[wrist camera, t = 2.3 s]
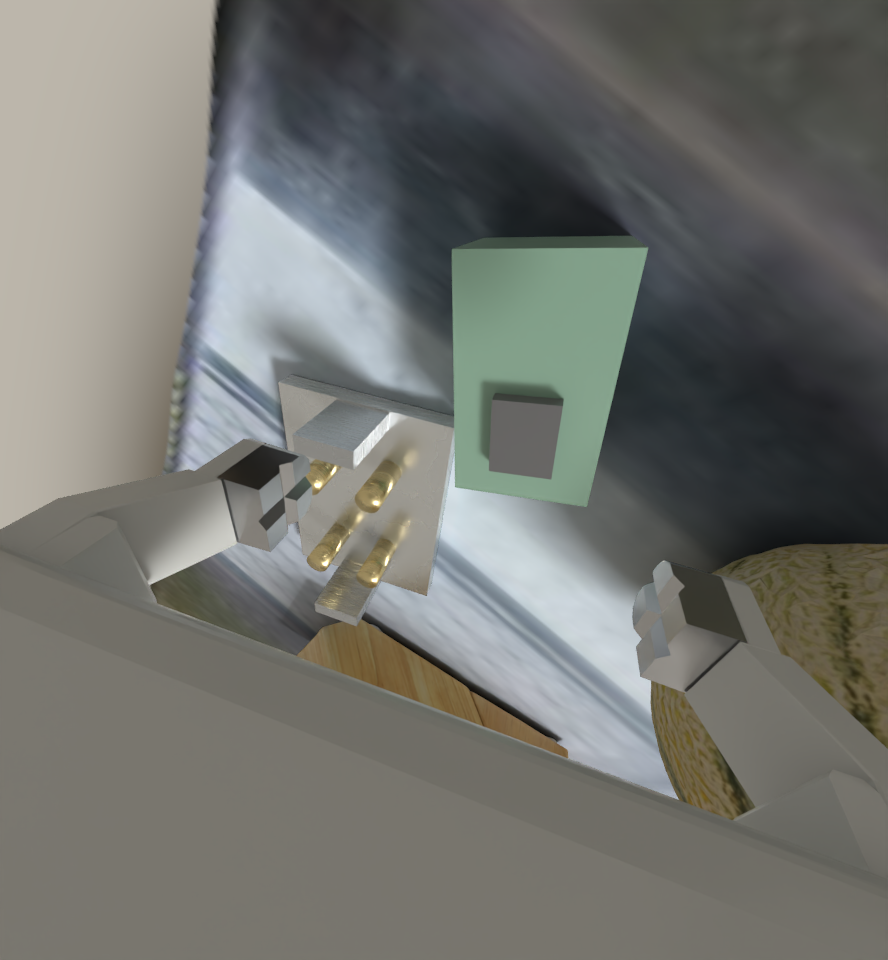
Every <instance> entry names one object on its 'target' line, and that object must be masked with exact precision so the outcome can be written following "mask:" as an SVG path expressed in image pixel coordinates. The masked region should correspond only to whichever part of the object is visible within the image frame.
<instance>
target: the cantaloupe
mask: <svg viewBox="0 0 888 960" xmlns="http://www.w3.org/2000/svg"><path fill="white" fill-rule="evenodd" d="M711 574H714V575H716V574H717V575H721V576H725V577H728V578H732V579H736V580H739V581H743V582H745V583H746V584H747V585H748V586H749V587H750V589H751V591H752V593H753V595H754V597H755V600H756V602H757V604H758V606H759V608H760V610H761V612H762V614H763V617H764V619H765V621H766V623H767V625H768V627H769V629H770V632H771V634H772V636H773V638H774V640H775V642H776V644H777V646H778V649H779V651H780V653H781V655H785V656H788V657H791V658H792V659H793V660H794V661H795V662H796V663H797V664H798V665H799V666H800V667H801V668H802V669H803V670H804V671H805V672H807V673H808V674H809V675H810V676H811V677H812V678H813V679H814V680H815V681H816V682H817V683H818V684H819V685H820V686H821V687H822V688H824V689H825V690H826V691H827V692H828V693H829V694H830V695H831V696H832V697H833V698H834V699H835V700H836V701H837V702H838V703H839V704H840V705H842V706H843V707H844V708H845V709H846V710H847V711H848V712H849V713H850V714H851V715H852V716H853V717H854V718H855V719H856V720H857V721H859V722H860V723H861V724H862V725H863V726H864V727H865V728H866V729H867V730H868V731H869V732H870V733H871V734H872V735H873V736H874V737H875V738H877V739H878V740H879V741H880V742H881V743H882V744H883V745H884V746H885V747H886V748H887V749H888V544H799V545H792V546H785V547H780V548H776V549H773V550H770V551H766V552H763V553H760V554H756V555H750V556H747V557H744V558H742V559H739V560H736V561H734V562H731V563H730V564H728V565H727V566H725V567H723V568H720V569H718V570H716V571H715V572H713V573H711ZM684 694H685V693H684V692H681V691H678V690H676V689H673V688H670V687H668V686H665V685H662V684H659V683H657V682H654V681H651V712H652V720H653V724H654V729H655V733H656V738H657V743H658V747H659V752H660V755H661V758H662V760H663V763H664V766H665V769H666V772H667V774H668V777H669V779H670V781H671V784H672V786H673V788H674V791H675V793H676V794H677V796H678V798H679V800H680V801H682V802H685V803H688V804H690V805H693V806H696V807H698V808H701V809H704V810H706V811H709V812H712V813H714V814H717V815H720V816H722V817H725V818H728V819H730V820H733V819H735V818H736V817H738V816H740V815H742V814H744V813H746V812H748V811H750V810H752V809H754V808H756V807H755V806H754V804H753V802H752V801H751V799H750V798H749V796H748V795H747V793H746V791H745V790H744V788H743V787H742V785H741V784H740V782H739V780H738V779H737V777H736V776H735V774H734V773H733V771H732V769H731V768H730V766H729V765H728V763H727V762H726V760H725V758H724V757H723V755H722V754H721V752H720V751H719V749H718V747H717V746H716V744H715V743H714V741H713V740H712V738H711V736H710V735H709V733H708V732H707V730H706V729H705V727H704V725H703V724H702V722H701V721H700V719H699V718H698V716H697V714H696V713H695V711H694V710H693V708H692V706H691V705H690V703H689V702H688V700H687V699H686V697H685V695H684Z"/></svg>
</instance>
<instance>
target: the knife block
mask: <svg viewBox="0 0 888 960" xmlns="http://www.w3.org/2000/svg"><path fill="white" fill-rule="evenodd" d="M297 657H300V658H303V659H305V660H308V661H311V662H313V663H316V664H319V665H321V666H324V667H327V668H329V669H332V670H335V671H337V672H340V673H343V674H345V675H348V676H351V677H353V678H356V679H359V680H361V681H364V682H367V683H369V684H372V685H375V686H377V687H380V688H383V689H385V690H388V691H391V692H393V693H396V694H399V695H401V696H404V697H407V698H409V699H412V700H415V701H417V702H420V703H422V704H425V705H428V706H430V707H433V708H436V709H438V710H441V711H444V712H446V713H449V714H452V715H454V716H457V717H460V718H462V719H465V720H468V721H470V722H473V723H476V724H478V725H481V726H483V727H486V728H489V729H491V730H494V731H497V732H499V733H502V734H505V735H507V736H510V737H513V738H515V739H518V740H521V741H523V742H526V743H529V744H531V745H534V746H536V747H539V748H542V749H544V750H547V751H550V752H552V753H555V754H558V755H560V756H563V757H566V758H568V750H567V749H565V748H563V747H562V746H560V745H559V744H557V742H556V740H555V739H553V738H550V737H546V736H544V735H543V734H541V733H539V732H538V731H536V730H535V729H533V728H532V727H530V726H528V725H527V724H525V723H524V722H522V721H520V720H519V719H517V718H515V717H514V716H512V715H510V714H509V713H507V712H505V711H504V710H502V709H501V708H499V707H497V706H496V705H494V704H492V703H491V702H489V701H487V700H486V699H484V698H482V697H481V696H479V695H477V694H475V693H474V692H471V691H469V689H468V688H467V687H466V686H465V685H463V684H462V683H461V682H459V681H457V680H456V679H454V678H453V677H451V676H450V675H448V674H446V673H445V672H443V671H442V670H440V669H439V668H437V667H436V666H434V665H432V664H431V663H429V662H428V661H426V660H425V659H423V658H422V657H420V656H418V655H417V654H415V653H414V652H412V651H411V650H409V649H407V648H406V647H404V646H403V645H401V644H400V643H398V642H397V641H395V640H393V639H392V638H390V637H389V636H387V635H386V634H384V633H383V632H381V630H380V629H379V628H378V627H377V626H375V625H372V624H368V623H367V622H365V621H363V620H362V619H361V620H360V621H359V623H358V625H357V626H354V625H351V624H348V623H346V622H343V621H342V622H339V623H335V624H331V625H328V626H324V627H322V628H321V629H320V630H319V632H318V633H317V635H316V636H315V637H314V638H313V639H312V640H311V641H310V642H309V643H308V644H307V645H306V646H305V647H304V649H303V650H301V651H300V652H299V654H298V655H297Z"/></svg>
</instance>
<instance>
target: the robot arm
mask: <svg viewBox="0 0 888 960" xmlns="http://www.w3.org/2000/svg"><path fill="white" fill-rule="evenodd" d="M310 471H311V470H310V462H309V459H308V458H307V457H306V456H305V455H302V454H299V453H296V452H293V451H290V450H287V449H283V448H280V447H277V446H274V445H271V444H266V443H264V442H260V441H257V440H254V439H243V440H242V441H240V442H239V443H237V444H236V445H234V446H233V447H231V448H229V449H228V450H226V451H225V452H223V453H222V454H220V455H219V456H217V457H216V458H214V459H213V460H211V461H210V462H208V463H206V464H205V465H203V466H202V467H200V468H199V469H197V470H196V471H192V470H184V471H180V472H175V473H171V474H166V475H162V476H158V477H153V478H148V479H144V480H139V481H135V482H130V483H126V484H121V485H117V486H112V487H108V488H103V489H99V490H94V491H90V492H85V493H81V494H77V495H72V496H67V497H63V498H58V499H56V500H54V501H52V502H51V503H49V504H47V505H45V506H43V507H42V508H39V509H38V510H36V511H34V512H32V513H30V514H28V515H26V516H25V517H23V518H21V519H19V520H18V521H15V522H14V523H12V524H10V525H8V526H6V527H5V528H3V529H0V960H888V749H887V748H886V747H885V746H884V745H883V744H882V743H881V742H880V741H879V740H878V739H877V738H875V737H874V736H873V735H872V734H871V733H870V732H869V731H868V730H867V729H866V728H865V727H864V726H863V725H862V724H861V723H860V722H859V721H857V720H856V719H855V718H854V717H853V716H852V715H851V714H850V713H849V712H848V711H847V710H846V709H845V708H844V707H843V706H842V705H840V704H839V703H838V702H837V701H836V700H835V699H834V698H833V697H832V696H831V695H830V694H829V693H828V692H827V691H826V690H825V689H824V688H822V687H821V686H820V685H819V684H818V683H817V682H816V681H815V680H814V679H813V678H812V677H811V676H810V675H809V674H808V673H807V672H805V671H804V670H803V669H802V668H801V667H800V666H799V665H798V664H797V663H796V662H795V661H794V660H793V659H792V658H791V657H788V656H785V655H781V653H780V651H779V649H778V646H777V644H776V642H775V640H774V638H773V636H772V634H771V632H770V629H769V627H768V625H767V623H766V621H765V619H764V617H763V614H762V612H761V610H760V608H759V606H758V604H757V602H756V600H755V597H754V595H753V593H752V591H751V589H750V587H749V586H748V585H747V584H746V583H745V582H743V581H739V580H736V579H732V578H728V577H725V576H721V575H717V574H716V575H714V574H711V573H708V572H704V571H701V570H697V569H694V568H690V567H687V566H683V565H680V564H676V563H673V562H669V561H666V560H663V561H662V562H660V563H659V564H658V565H657V566H656V568H655V569H654V571H653V572H652V573H653V578H654V582H652V583H649V584H646V585H644V586H642V588H641V590H640V591H639V593H638V595H637V596H636V599H635V603H634V606H633V617H632V618H633V627H634V629H635V630H636V632H637V633H638V634H639V636H640V637H641V638H642V640H641V641H640V642H639V644H638V645H637V646H636V649H637V656H638V663H639V670H640V677H643V678H646V679H648V680H651V681H654V682H657V683H659V684H662V685H665V686H668V687H670V688H673V689H676V690H678V691H681V692H684V693H685V694H684V695H685V697H686V699H687V700H688V702H689V703H690V705H691V706H692V708H693V710H694V711H695V713H696V714H697V716H698V718H699V719H700V721H701V722H702V724H703V725H704V727H705V729H706V730H707V732H708V733H709V735H710V736H711V738H712V740H713V741H714V743H715V744H716V746H717V747H718V749H719V751H720V752H721V754H722V755H723V757H724V758H725V760H726V762H727V763H728V765H729V766H730V768H731V769H732V771H733V773H734V774H735V776H736V777H737V779H738V780H739V782H740V784H741V785H742V787H743V788H744V790H745V791H746V793H747V795H748V796H749V798H750V799H751V801H752V802H753V804H754V806H755V807H756V808H754V809H752V810H750V811H748V812H746V813H744V814H742V815H740V816H738V817H736V818H735V819H733V820H730V819H728V818H725V817H722V816H720V815H717V814H714V813H712V812H709V811H706V810H704V809H701V808H698V807H696V806H693V805H690V804H688V803H685V802H682V801H680V800H677V799H674V798H672V797H669V796H666V795H664V794H661V793H658V792H656V791H653V790H651V789H648V788H645V787H643V786H640V785H637V784H635V783H632V782H629V781H627V780H624V779H621V778H619V777H616V776H613V775H611V774H608V773H605V772H603V771H600V770H597V769H595V768H592V767H589V766H587V765H584V764H582V763H579V762H576V761H574V760H571V759H568V758H566V757H563V756H560V755H558V754H555V753H552V752H550V751H547V750H544V749H542V748H539V747H536V746H534V745H531V744H529V743H526V742H523V741H521V740H518V739H515V738H513V737H510V736H507V735H505V734H502V733H499V732H497V731H494V730H491V729H489V728H486V727H483V726H481V725H478V724H476V723H473V722H470V721H468V720H465V719H462V718H460V717H457V716H454V715H452V714H449V713H446V712H444V711H441V710H438V709H436V708H433V707H430V706H428V705H425V704H422V703H420V702H417V701H415V700H412V699H409V698H407V697H404V696H401V695H399V694H396V693H393V692H391V691H388V690H385V689H383V688H380V687H377V686H375V685H372V684H369V683H367V682H364V681H361V680H359V679H356V678H353V677H351V676H348V675H345V674H343V673H340V672H337V671H335V670H332V669H329V668H327V667H324V666H321V665H319V664H316V663H313V662H311V661H308V660H305V659H303V658H300V657H297V656H295V655H292V654H289V653H287V652H284V651H281V650H279V649H276V648H274V647H271V646H268V645H266V644H263V643H260V642H258V641H255V640H252V639H250V638H247V637H244V636H242V635H239V634H236V633H234V632H231V631H228V630H226V629H223V628H220V627H218V626H215V625H212V624H210V623H207V622H205V621H202V620H199V619H197V618H194V617H191V616H189V615H186V614H183V613H181V612H178V611H175V610H173V609H170V608H167V607H165V606H162V605H159V604H157V603H156V602H157V600H156V598H155V596H154V594H153V592H152V590H151V588H150V586H149V585H150V584H152V583H155V582H157V581H159V580H161V579H163V578H165V577H167V576H170V575H172V574H174V573H176V572H178V571H180V570H182V569H185V568H187V567H189V566H191V565H193V564H195V563H197V562H200V561H202V560H204V559H206V558H208V557H210V556H212V555H215V554H217V553H219V552H221V551H223V550H225V549H227V548H230V547H232V546H234V545H236V544H237V542H239V543H242V544H246V545H249V546H252V547H256V548H259V549H262V550H265V551H269V552H271V551H272V550H273V549H274V548H275V547H276V546H277V544H278V543H279V542H280V541H281V540H282V539H283V538H284V537H285V536H286V535H287V534H288V525H290V524H293V523H295V522H298V521H300V519H301V518H302V517H303V516H304V515H305V514H306V512H307V510H308V508H309V506H310V504H311V499H312V485H311V484H310V482H309V481H308V479H307V478H306V475H307V474H308V473H309V472H310Z"/></svg>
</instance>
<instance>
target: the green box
mask: <svg viewBox="0 0 888 960" xmlns="http://www.w3.org/2000/svg"><path fill="white" fill-rule="evenodd" d="M647 251H648V247H647V246H645V245H644V244H643V243H641V242H640V241H638V240H637V239H636V238H634V237H633V236H566V237H495V238H482V239H479V240H476V241H473V242H470V243H467V244H465V245H462V246H459V247H456V248H453V249H452V307H453V374H454V441H455V487H457V488H463V489H470V490H477V491H483V492H490V493H496V494H503V495H510V496H516V497H523V498H530V499H536V500H543V501H549V502H556V503H563V504H569V505H576V506H582V507H587V505H588V500H589V496H590V492H591V488H592V484H593V479H594V475H595V471H596V467H597V462H598V458H599V454H600V450H601V446H602V441H603V437H604V433H605V429H606V424H607V420H608V416H609V412H610V407H611V403H612V399H613V395H614V391H615V386H616V382H617V378H618V374H619V369H620V365H621V361H622V357H623V353H624V348H625V344H626V340H627V336H628V331H629V327H630V323H631V319H632V315H633V310H634V306H635V302H636V298H637V293H638V289H639V285H640V281H641V277H642V272H643V268H644V264H645V260H646V255H647Z"/></svg>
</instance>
